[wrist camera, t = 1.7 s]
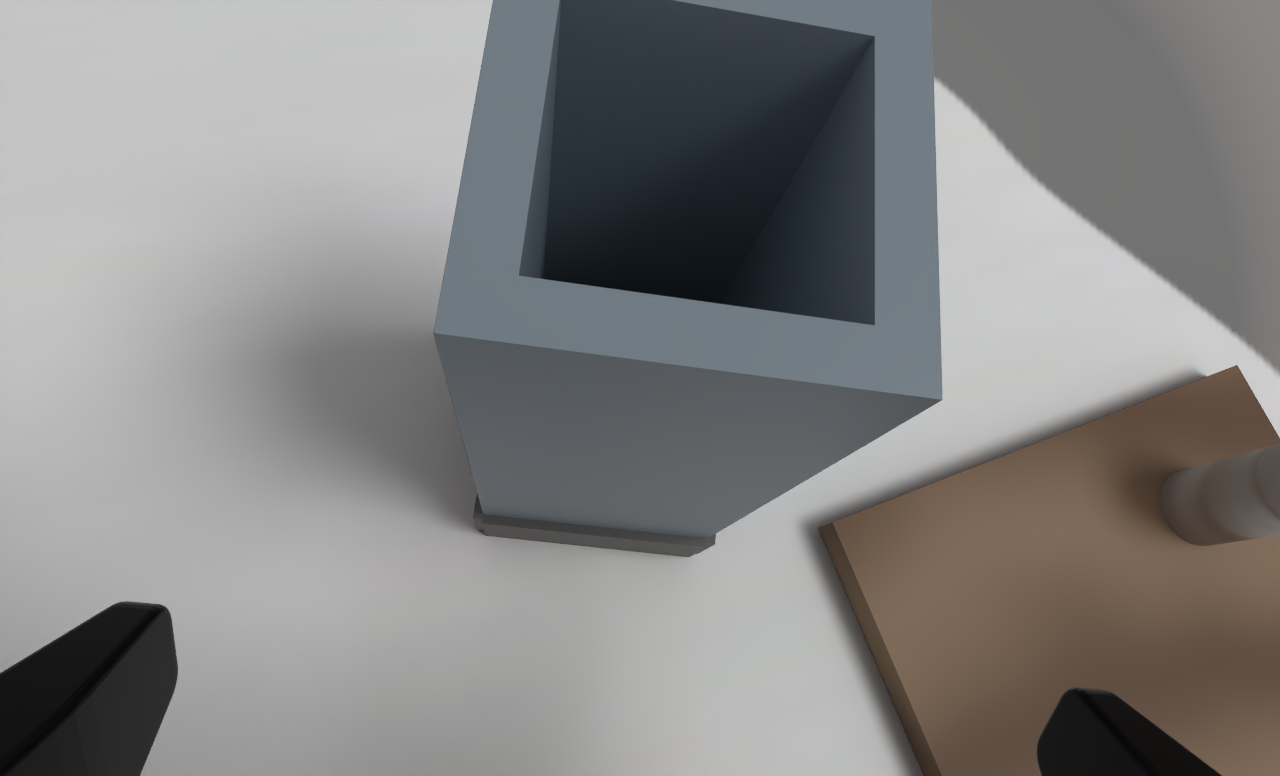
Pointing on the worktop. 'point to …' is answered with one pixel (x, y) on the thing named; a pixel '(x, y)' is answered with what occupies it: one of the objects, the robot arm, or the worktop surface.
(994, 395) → the worktop surface
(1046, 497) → the pin board
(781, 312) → the sleeve
